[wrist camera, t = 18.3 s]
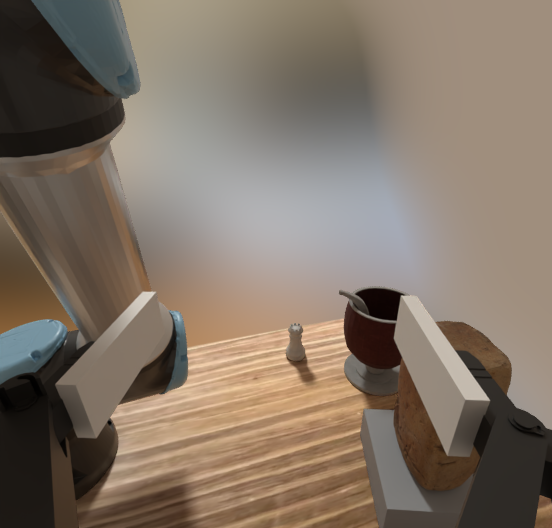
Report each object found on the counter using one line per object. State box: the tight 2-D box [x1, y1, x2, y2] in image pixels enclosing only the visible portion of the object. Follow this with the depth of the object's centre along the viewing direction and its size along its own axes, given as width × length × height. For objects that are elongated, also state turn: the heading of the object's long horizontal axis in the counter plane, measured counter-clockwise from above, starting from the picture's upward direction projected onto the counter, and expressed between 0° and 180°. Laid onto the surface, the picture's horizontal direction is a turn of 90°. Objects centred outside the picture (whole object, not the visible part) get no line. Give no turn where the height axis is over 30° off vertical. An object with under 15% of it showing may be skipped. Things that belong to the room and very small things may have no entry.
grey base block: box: [360, 409, 473, 528], centre depth 43 cm, size 14×14×6 cm
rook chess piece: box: [286, 323, 305, 361], centre depth 67 cm, size 4×4×8 cm
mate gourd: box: [339, 286, 410, 396], centre depth 60 cm, size 16×14×20 cm
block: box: [393, 321, 512, 491], centre depth 37 cm, size 11×8×20 cm
